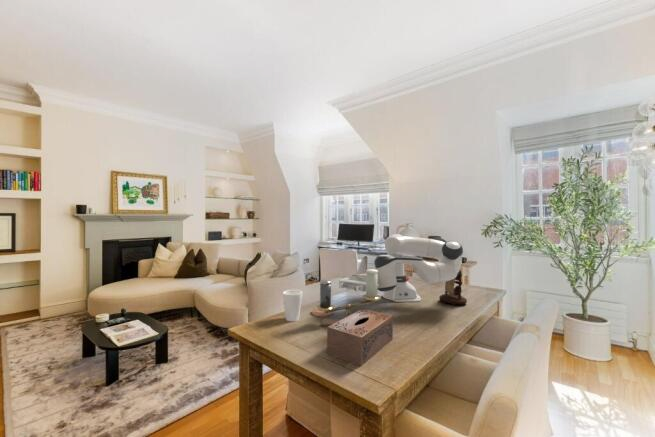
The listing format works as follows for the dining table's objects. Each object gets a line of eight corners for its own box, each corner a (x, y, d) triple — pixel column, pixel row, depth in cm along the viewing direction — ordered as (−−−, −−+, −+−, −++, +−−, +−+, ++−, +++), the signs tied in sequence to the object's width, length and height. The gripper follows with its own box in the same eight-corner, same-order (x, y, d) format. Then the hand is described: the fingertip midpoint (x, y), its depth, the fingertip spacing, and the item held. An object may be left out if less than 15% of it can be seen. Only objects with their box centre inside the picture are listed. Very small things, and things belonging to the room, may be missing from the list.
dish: (332, 310, 151) (332, 308, 151) (330, 317, 141) (330, 314, 141) (313, 309, 152) (313, 307, 152) (310, 316, 142) (310, 313, 142)
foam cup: (303, 316, 142) (304, 290, 142) (300, 323, 133) (300, 295, 133) (285, 315, 143) (285, 289, 143) (280, 322, 134) (280, 294, 134)
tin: (331, 305, 134) (331, 279, 134) (330, 308, 129) (330, 282, 129) (320, 304, 135) (320, 279, 135) (318, 308, 130) (319, 282, 130)
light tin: (377, 295, 132) (377, 269, 132) (377, 298, 127) (378, 271, 127) (365, 294, 133) (366, 269, 132) (366, 297, 127) (366, 271, 127)
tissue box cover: (361, 331, 125) (362, 308, 125) (392, 340, 117) (392, 315, 117) (326, 354, 104) (327, 326, 104) (361, 366, 96) (361, 337, 96)
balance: (379, 323, 133) (379, 294, 133) (380, 330, 126) (381, 299, 125) (317, 320, 137) (318, 291, 136) (315, 326, 129) (315, 296, 128)
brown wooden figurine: (433, 300, 171) (434, 267, 171) (451, 297, 177) (452, 265, 177) (454, 307, 158) (454, 271, 157) (472, 304, 164) (473, 270, 163)
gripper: (381, 291, 142) (365, 297, 131) (349, 286, 156) (332, 291, 145) (381, 278, 142) (364, 283, 132) (349, 274, 156) (332, 279, 146)
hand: (347, 287), depth 139 cm, fingers open, 8 cm apart
